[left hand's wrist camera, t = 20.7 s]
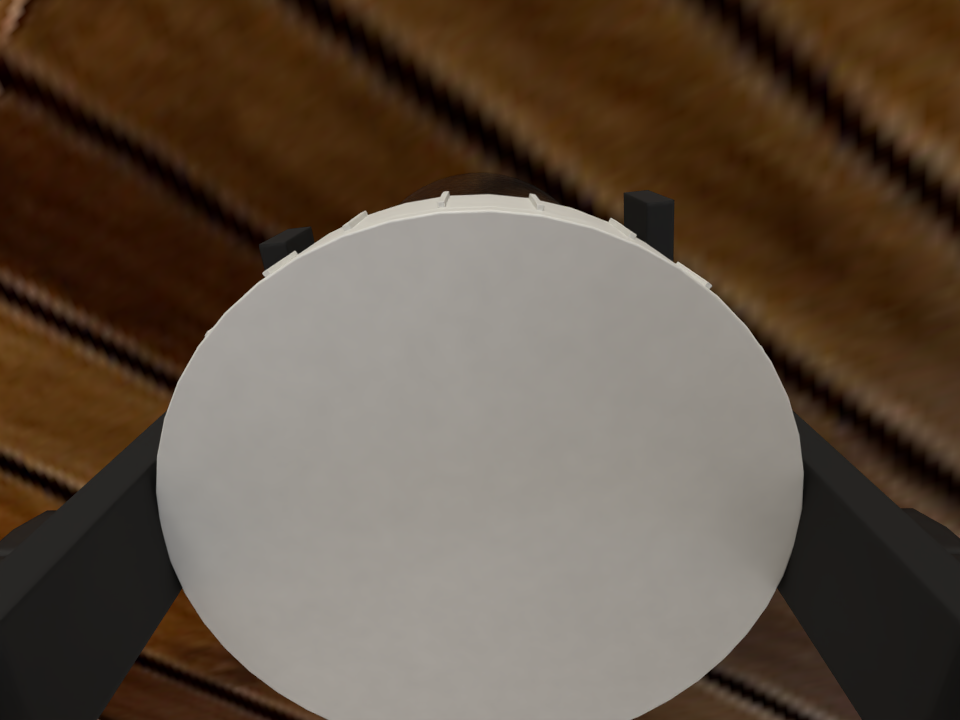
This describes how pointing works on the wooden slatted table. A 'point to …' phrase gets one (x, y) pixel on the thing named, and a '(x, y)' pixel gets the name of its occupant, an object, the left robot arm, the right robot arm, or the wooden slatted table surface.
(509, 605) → the lid
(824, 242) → the wooden slatted table surface
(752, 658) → the wooden slatted table surface
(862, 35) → the wooden slatted table surface
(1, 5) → the wooden slatted table surface
